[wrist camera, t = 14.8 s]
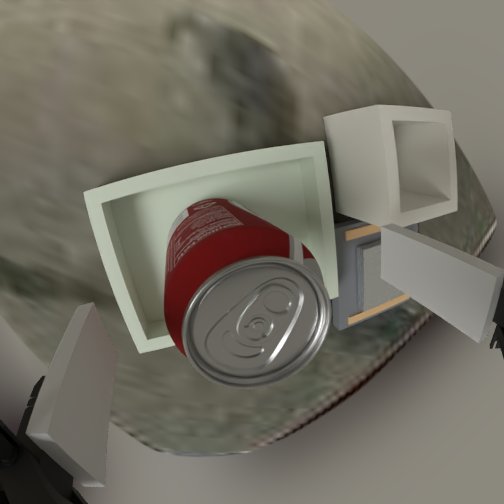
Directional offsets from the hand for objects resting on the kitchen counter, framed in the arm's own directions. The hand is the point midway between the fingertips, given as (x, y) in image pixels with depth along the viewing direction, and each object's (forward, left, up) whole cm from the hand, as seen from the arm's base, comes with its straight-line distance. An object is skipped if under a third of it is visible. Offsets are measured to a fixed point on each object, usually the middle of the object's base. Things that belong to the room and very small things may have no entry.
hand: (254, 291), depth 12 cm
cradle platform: (+6, +14, -9) cm, 18 cm away
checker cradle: (+6, +14, -10) cm, 19 cm away
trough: (0, 0, -10) cm, 10 cm away
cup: (-4, +14, -10) cm, 18 cm away
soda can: (0, 0, -10) cm, 10 cm away
